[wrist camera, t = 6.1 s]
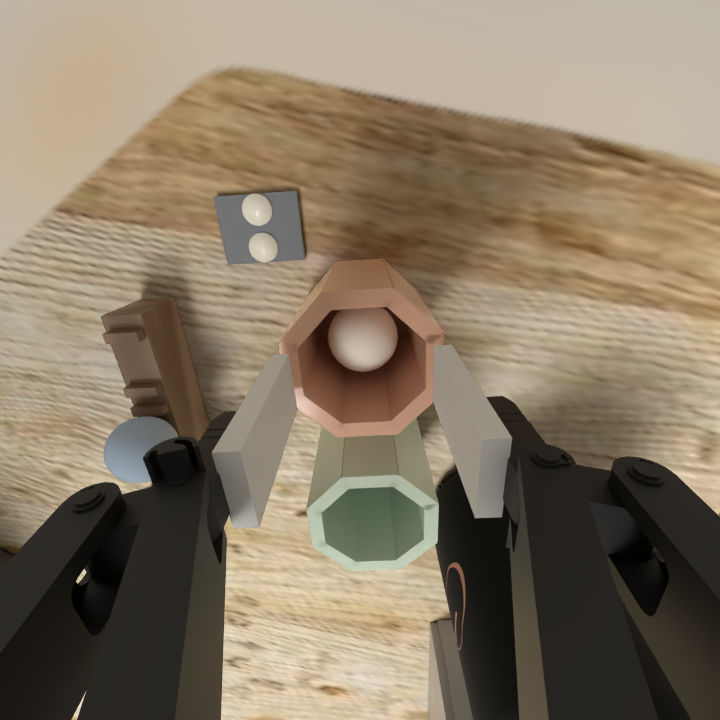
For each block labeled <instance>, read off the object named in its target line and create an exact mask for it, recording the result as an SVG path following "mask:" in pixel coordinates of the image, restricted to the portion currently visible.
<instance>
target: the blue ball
mask: <svg viewBox="0 0 720 720" xmlns="http://www.w3.org/2000/svg"><path fill="white" fill-rule="evenodd" d="M175 437H178V434H177V432H176V431H175V429H174V428H173V427H172V426H171V425H170V424H169V423H168V422H166V421H164V420H162V419H160V418H157V417H151V416H143V417H137V418H133V419H130V420H128V421H126V422H124V423H122V424H121V425H119V426H118V427H117V428H116V429H115V430H114V431H113V432H112V433H111V434H110V436H109V438H108V439H107V442H106V444H105V448H104V460H105V463H106V466H107V468H108V469H109V471H110V472H111V473H112V474H113V475H114V476H116V477H117V478H119V479H121V480H123V481H126V482H131V483H144V482H148V481H151V479H150V476H149V474H148V471H147V468H146V466H145V463H144V461H143V457H144V455H145V454H146V452H147V451H149V450H150V449H151V448H152V447H154V446H155V445H157V444H159V443H161V442H163V441H165V440H168V439H172V438H175Z"/></svg>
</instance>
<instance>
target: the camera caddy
mask: <svg viewBox="0 0 720 720" xmlns="http://www.w3.org/2000/svg"><path fill="white" fill-rule="evenodd" d="M428 720H473V717H472V713H471V708H470V703H469V699H468V694H467V690H466V685H465V680H464V676H463V671H462V666H461V662H460V657H459V652H458V648H457V643H456V639H455V634H454V629H453V625H452V620H438V622H437V623H430V649H429V690H428Z"/></svg>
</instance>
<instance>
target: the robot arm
mask: <svg viewBox="0 0 720 720" xmlns="http://www.w3.org/2000/svg"><path fill="white" fill-rule="evenodd" d="M433 403H434V406H435V408H436V411H437V414H438V417H439V420H440V422H441V425H442V428H443V431H444V433H445V436H446V439H447V442H448V445H449V447H450V450H451V453H452V456H453V458H454V461H455V464H456V467H457V470H458V472H459V475H460V478H461V481H462V483H463V486H464V489H465V492H466V495H467V497H468V500H469V503H470V506H471V508H472V511H473V514H474V517H475V518H494V517H502V513H503V505H504V503H505V505H506V507H507V509H508V511H509V513H510V521H509V528H508V535H507V542H506V548H510V561H511V579H512V597H513V615H514V632H515V650H516V668H517V686H518V703H519V720H659V719H658V716H657V713H656V710H655V707H654V703H653V700H652V697H651V694H650V691H649V688H648V685H647V682H646V679H645V676H644V672H643V669H642V666H641V663H640V660H639V657H638V654H637V651H636V648H635V645H634V642H633V638H632V635H631V632H630V629H629V626H628V623H627V620H626V617H625V614H624V611H623V607H622V604H621V601H620V598H619V596H620V597H621V599H622V601H623V603H624V604H625V606H626V608H627V610H628V611H629V613H630V615H631V616H632V618H633V620H634V622H635V623H636V625H637V627H638V629H639V630H640V632H641V634H642V635H643V637H644V639H645V641H646V642H647V644H648V646H649V648H650V649H651V651H652V653H653V654H654V656H655V658H656V660H657V661H658V663H659V665H660V667H661V668H662V670H663V672H664V673H665V675H666V677H667V679H668V680H669V682H670V684H671V685H672V687H673V689H674V691H675V692H676V694H677V696H678V698H679V699H680V701H681V703H682V704H683V706H684V708H685V710H686V711H687V713H688V715H689V717H690V718H691V720H720V517H719V516H718V515H717V514H716V513H715V512H714V511H713V510H712V509H711V508H710V507H709V506H708V505H707V504H706V503H705V502H704V501H703V500H702V499H701V498H700V497H698V496H697V495H696V494H695V493H694V492H693V491H692V490H691V489H690V488H689V487H688V486H687V485H686V484H685V483H684V482H683V481H682V480H681V479H680V478H679V477H678V476H677V475H675V474H674V473H673V472H671V471H670V470H669V469H667V468H666V467H664V466H662V465H660V464H658V463H655V462H653V461H650V460H646V459H643V458H638V457H629V456H628V457H621V458H618V459H616V460H615V461H613V465H612V468H611V471H609V470H603V469H597V468H591V467H585V466H581V465H576V463H575V461H574V459H573V458H572V457H571V456H570V455H569V454H568V453H566V452H565V451H563V450H561V449H559V448H557V447H555V446H551V445H547V444H546V443H545V442H544V441H543V439H542V438H541V437H540V436H539V434H538V433H537V432H536V430H535V429H534V428H533V426H532V425H531V424H530V423H529V421H527V419H526V417H525V416H524V415H523V414H522V412H521V411H520V410H519V408H518V407H517V406H516V404H515V403H513V402H512V401H510V400H508V399H507V398H505V397H503V396H496V397H486V396H485V395H484V393H483V392H482V390H481V389H480V387H479V386H478V384H477V382H476V381H475V379H474V378H473V376H472V375H471V373H470V372H469V370H468V368H467V367H466V365H465V364H464V362H463V361H462V359H461V358H460V356H459V355H458V353H457V351H456V350H455V348H454V347H453V345H434V372H433ZM296 411H297V403H296V397H295V390H294V384H293V378H292V371H291V365H290V359H289V354H278V355H271V356H270V358H269V360H268V361H267V363H266V364H265V366H264V368H263V369H262V371H261V373H260V374H259V376H258V378H257V379H256V381H255V382H254V384H253V386H252V387H251V389H250V391H249V392H248V394H247V396H246V397H245V399H244V400H243V402H242V404H241V405H240V407H239V409H238V410H237V411H231V412H223V413H222V414H221V415H219V416H218V417H217V418H215V419H214V420H213V421H212V422H211V424H210V425H209V427H208V428H207V431H205V432H204V434H203V435H202V437H201V439H200V440H199V441H197V440H196V439H194V438H193V437H186V436H183V437H175V438H172V439H168V440H165V441H163V442H161V443H159V444H157V445H155V446H154V447H152V448H151V449H150V450H149V451H147V452H146V454H145V455H144V457H143V461H144V463H145V466H146V468H147V471H148V474H149V476H150V479H151V481H152V486H151V487H148V488H145V489H141V490H138V491H134V492H130V493H126V494H122V493H121V491H120V488H119V486H118V485H116V484H114V483H109V482H104V483H99V484H94V485H91V486H88V487H86V488H84V489H81V490H80V491H78V492H77V493H75V494H73V495H72V496H70V497H69V498H68V499H67V500H66V501H64V502H63V503H62V504H61V505H60V506H59V507H58V508H57V510H56V511H55V512H54V513H53V514H52V515H51V516H50V517H49V518H48V519H47V520H46V522H45V523H44V524H43V525H42V526H41V527H40V528H39V529H38V530H37V531H36V532H35V534H34V535H33V536H32V537H31V538H30V539H29V540H28V541H27V542H26V543H25V544H24V546H23V547H22V548H21V549H20V550H19V551H18V552H17V553H16V554H15V555H14V556H13V555H11V554H9V553H7V552H4V551H2V550H0V720H71V719H72V717H73V715H74V713H75V711H76V709H77V707H78V706H79V704H80V702H81V700H82V698H83V696H84V694H85V692H86V694H85V697H84V700H83V703H82V706H81V709H80V712H79V716H78V719H77V720H221V696H222V666H223V637H224V608H225V578H226V549H227V538H226V534H225V531H224V525H225V523H226V521H227V519H228V516H229V515H230V518H231V522H232V525H233V528H255V527H259V526H260V523H261V520H262V517H263V514H264V511H265V507H266V504H267V501H268V498H269V495H270V492H271V489H272V486H273V483H274V479H275V476H276V473H277V470H278V467H279V464H280V461H281V458H282V455H283V451H284V448H285V445H286V442H287V439H288V436H289V433H290V430H291V427H292V423H293V420H294V417H295V414H296ZM84 568H85V570H86V572H87V573H86V574H85V576H84V577H83V579H82V580H81V581H80V582H79V583H76V580H77V578H78V577H79V575H80V574H81V572H82V571H83V569H84ZM618 594H619V595H618Z"/></svg>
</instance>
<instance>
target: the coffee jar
mask: <svg viewBox="0 0 720 720" xmlns="http://www.w3.org/2000/svg"><path fill="white" fill-rule="evenodd" d="M437 499H438V503H439V514H438V542H437V544H435V546H436V550H437V555H438V560H439V564H440V569H441V574H442V578H443V583H444V588H445V592H446V597H447V601H448V606H449V611H450V615H451V620H452V625H453V629H454V634H455V639H456V643H457V648H458V652H459V657H460V662H461V666H462V671H463V676H464V680H465V685H466V690H467V694H468V699H469V703H470V708H471V713H472V717H473V720H519V703H518V686H517V668H516V650H515V632H514V615H513V597H512V579H511V561H510V548H506V542H507V535H508V528H509V521H510V513H509V511H508V509H507V507H506V505H505V503H504V505H503V513H502V517H494V518H475V517H474V514H473V511H472V508H471V506H470V503H469V500H468V497H467V495H466V492H465V489H464V486H463V483H462V481H461V478H460V475H459V472H458V471H457V472H456V473H455V474H453V475H452V476H451V477H450V478H448V479H447V480H446V481H445V482H444V484H443V485H442V487H441V488H440V490H439V491H438V492H437ZM618 595H619V594H618ZM619 598H620V601H621V604H622V607H623V611H624V614H625V617H626V620H627V623H628V626H629V629H630V632H631V635H632V638H633V642H634V645H635V648H636V651H637V654H638V657H639V660H640V663H641V666H642V669H643V672H644V676H645V679H646V682H647V685H648V688H649V691H650V694H651V697H652V700H653V703H654V707H655V710H656V713H657V716H658V719H659V720H691V718H690V717H689V715H688V713H687V711H686V710H685V708H684V706H683V704H682V703H681V701H680V699H679V698H678V696H677V694H676V692H675V691H674V689H673V687H672V685H671V684H670V682H669V680H668V679H667V677H666V675H665V673H664V672H663V670H662V668H661V667H660V665H659V663H658V661H657V660H656V658H655V656H654V654H653V653H652V651H651V649H650V648H649V646H648V644H647V642H646V641H645V639H644V637H643V635H642V634H641V632H640V630H639V629H638V627H637V625H636V623H635V622H634V620H633V618H632V616H631V615H630V613H629V611H628V610H627V608H626V606H625V604H624V603H623V601H622V599H621V597H620V596H619Z"/></svg>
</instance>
